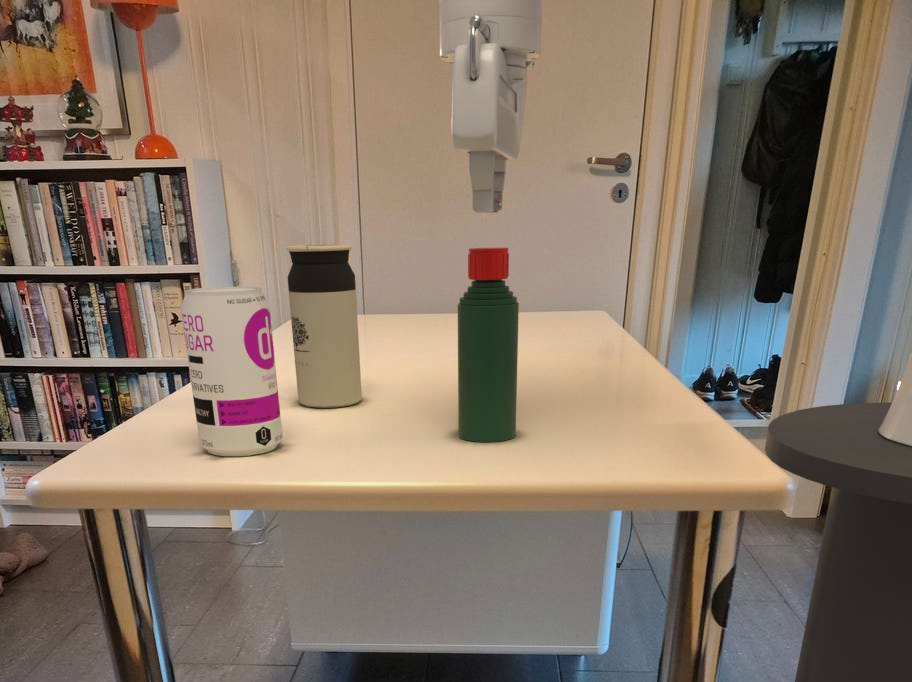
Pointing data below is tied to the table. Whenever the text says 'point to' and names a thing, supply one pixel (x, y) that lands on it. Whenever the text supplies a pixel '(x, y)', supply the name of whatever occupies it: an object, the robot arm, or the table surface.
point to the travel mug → (324, 325)
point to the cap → (488, 263)
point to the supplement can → (232, 369)
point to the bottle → (487, 362)
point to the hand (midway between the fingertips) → (487, 212)
